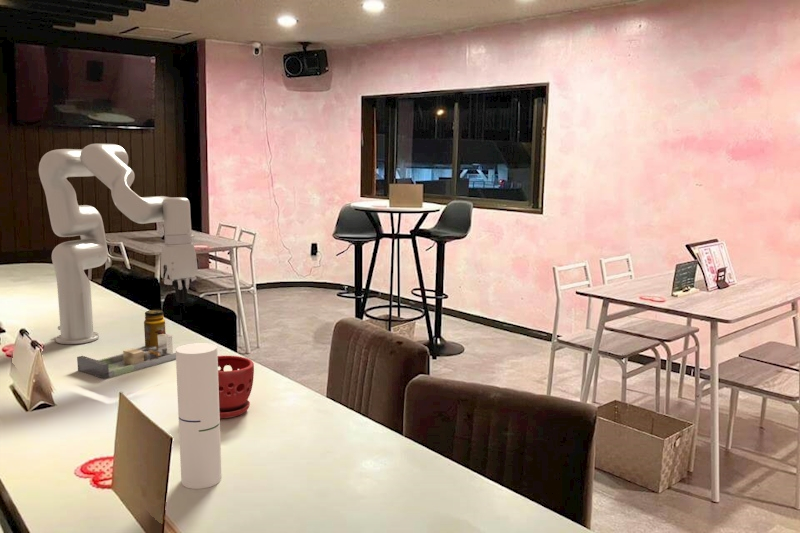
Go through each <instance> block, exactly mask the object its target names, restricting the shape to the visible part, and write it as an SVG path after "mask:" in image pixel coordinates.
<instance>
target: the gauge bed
mask: <svg viewBox="0 0 800 533" xmlns="http://www.w3.org/2000/svg"><path fill="white" fill-rule="evenodd" d="M153 349H157V348H156V346H152V347H148V348H146V347H145V348H144V347H143V348H139V350H142V351H149V350H153ZM76 360H77V361H76V362H77V372H80V373H84V374H87V375H89V376H93V377H96V378H99V379H102V380H106V379H111V378H113V377H117V376H120V375H121V376H122V375H124V374H127V373H130V372H135V371H138V370H141V369H145V368H146V369H147V368H149V367H152V366H156V365H160V364H163V363H166V362H167V363H168V362H170V361H171V362H172V361H174V360H175V361H176V352H173V354H170V353H165V354H162V356H158V357H154V358H150V360H147V361H143V362H140V363H136V364H132V365H129V364H126V363H124V357H123V353H120V354H117V355H114V356H109V357H105V358H100V359H94V358H91V357H87V356H84V355H81V356H80V355H79V356H77V357H76Z"/></svg>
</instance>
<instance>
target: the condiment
mask: <svg viewBox="0 0 800 533" xmlns="http://www.w3.org/2000/svg"><path fill="white" fill-rule="evenodd" d="M143 325H144V326H143V328H144V329H143V330H144V332H143V333H144V347H145V348H148V347H152V346H156V349H157V348H158V335H160V334H166V320H165V319H164V311H163V310H162V309H151V310H146V311H145V313H144V321H143Z"/></svg>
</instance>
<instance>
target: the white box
mask: <svg viewBox="0 0 800 533" xmlns="http://www.w3.org/2000/svg"><path fill="white" fill-rule="evenodd" d="M173 349H174V348H173V335H171V334H170V335H169V334H160V335H158V348H156V349H153V350H149V351H143V352H144V361H147V360H150V358H154V357H158V356H162V354H165V353H170V354H173V353H174V350H173ZM139 350H140V349H139ZM140 351H142V350H140Z"/></svg>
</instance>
